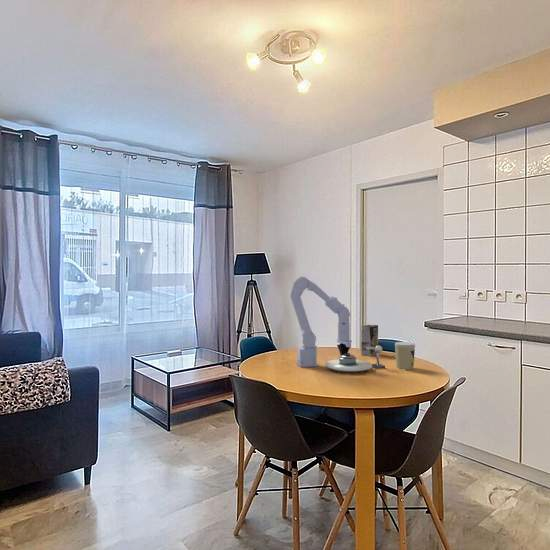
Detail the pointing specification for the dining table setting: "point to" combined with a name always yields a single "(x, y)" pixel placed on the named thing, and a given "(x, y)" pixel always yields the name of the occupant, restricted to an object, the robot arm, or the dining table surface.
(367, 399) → the dining table surface
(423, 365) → the dining table surface
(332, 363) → the platter
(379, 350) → the dial gauge
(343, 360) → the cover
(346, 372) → the turntable base
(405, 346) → the coffee cup
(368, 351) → the coffee box
